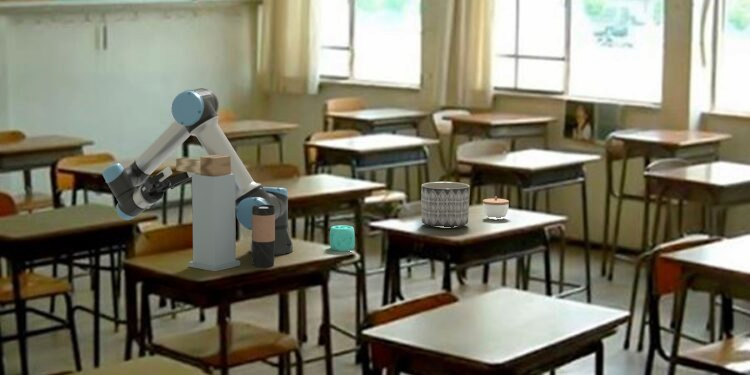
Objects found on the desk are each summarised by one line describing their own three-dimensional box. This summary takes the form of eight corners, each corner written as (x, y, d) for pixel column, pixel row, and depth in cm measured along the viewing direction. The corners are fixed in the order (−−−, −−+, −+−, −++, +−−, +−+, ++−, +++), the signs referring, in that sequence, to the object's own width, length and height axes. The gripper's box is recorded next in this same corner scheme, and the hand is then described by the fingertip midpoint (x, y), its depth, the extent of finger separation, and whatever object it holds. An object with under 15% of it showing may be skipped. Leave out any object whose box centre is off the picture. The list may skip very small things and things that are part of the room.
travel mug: (271, 268, 409) (271, 209, 406) (248, 266, 410) (249, 207, 407) (277, 263, 416) (277, 205, 413) (255, 261, 418) (255, 203, 415)
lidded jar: (498, 216, 514) (499, 193, 513) (513, 220, 505) (514, 197, 504) (477, 218, 509) (477, 195, 508) (492, 222, 500) (492, 199, 499)
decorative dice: (329, 247, 445) (329, 225, 444) (351, 246, 447) (351, 225, 445) (332, 251, 438) (332, 229, 436) (354, 251, 439) (354, 229, 438)
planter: (411, 226, 487) (411, 185, 485) (437, 220, 503) (438, 180, 500) (452, 232, 476) (453, 190, 474) (478, 225, 492) (478, 184, 489)
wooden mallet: (171, 171, 414) (170, 153, 413) (188, 168, 420) (188, 151, 419) (213, 176, 402) (213, 158, 401) (230, 174, 408) (230, 156, 407)
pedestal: (189, 266, 410) (187, 174, 406) (214, 260, 420) (213, 170, 415) (214, 271, 403) (213, 177, 399) (240, 265, 413) (239, 174, 408)
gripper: (179, 199, 436) (215, 173, 424) (125, 208, 417) (161, 181, 404) (171, 180, 438) (207, 154, 425) (117, 188, 418) (153, 161, 405)
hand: (185, 167), depth 415 cm, fingers open, 13 cm apart
